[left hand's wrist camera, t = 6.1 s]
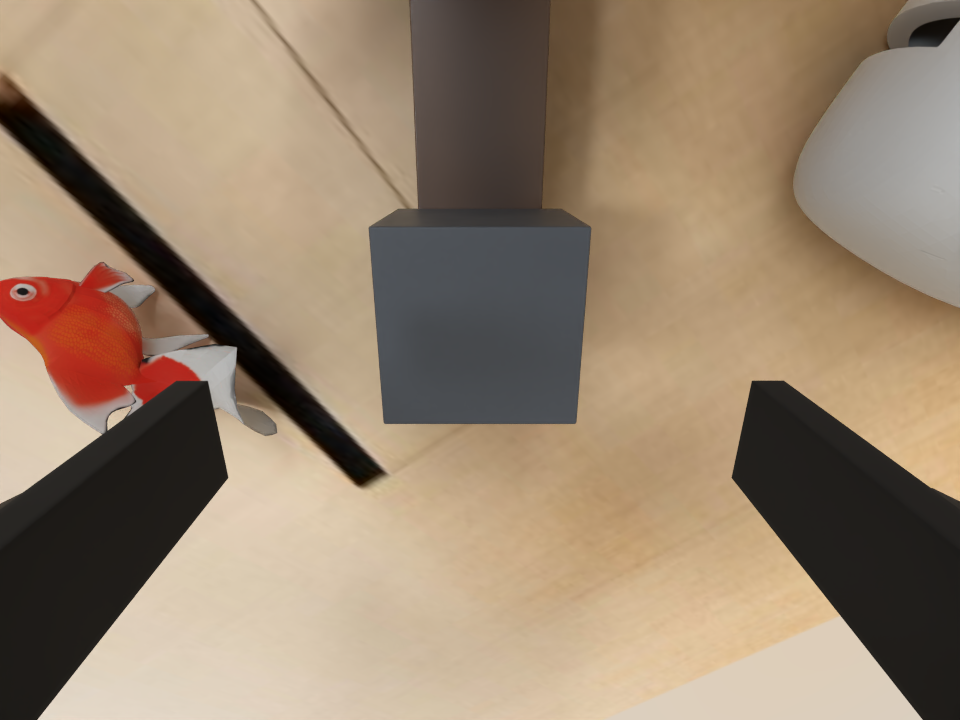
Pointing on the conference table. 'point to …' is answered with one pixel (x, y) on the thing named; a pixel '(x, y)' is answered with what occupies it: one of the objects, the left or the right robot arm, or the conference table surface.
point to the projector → (895, 155)
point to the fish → (113, 347)
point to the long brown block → (480, 102)
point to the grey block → (480, 314)
